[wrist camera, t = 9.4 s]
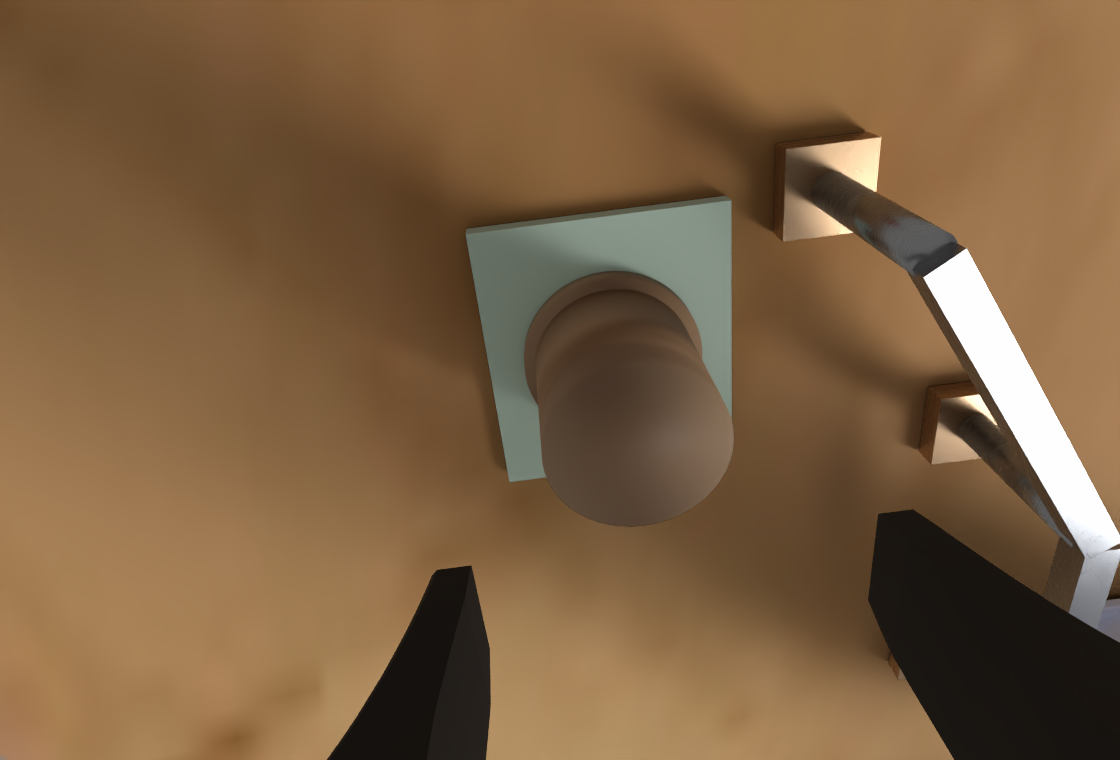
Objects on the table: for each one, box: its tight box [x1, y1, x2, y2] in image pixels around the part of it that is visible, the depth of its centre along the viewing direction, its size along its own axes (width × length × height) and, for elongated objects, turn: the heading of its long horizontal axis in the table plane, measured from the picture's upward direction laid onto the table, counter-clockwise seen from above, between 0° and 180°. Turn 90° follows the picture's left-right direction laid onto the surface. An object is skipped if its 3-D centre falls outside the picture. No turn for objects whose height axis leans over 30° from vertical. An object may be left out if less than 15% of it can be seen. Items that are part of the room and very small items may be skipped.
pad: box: [466, 196, 732, 482], centre depth 21 cm, size 7×8×1 cm
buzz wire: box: [773, 132, 1120, 680], centre depth 21 cm, size 7×20×6 cm, turn 6°
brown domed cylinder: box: [524, 271, 734, 527], centre depth 19 cm, size 5×5×5 cm
